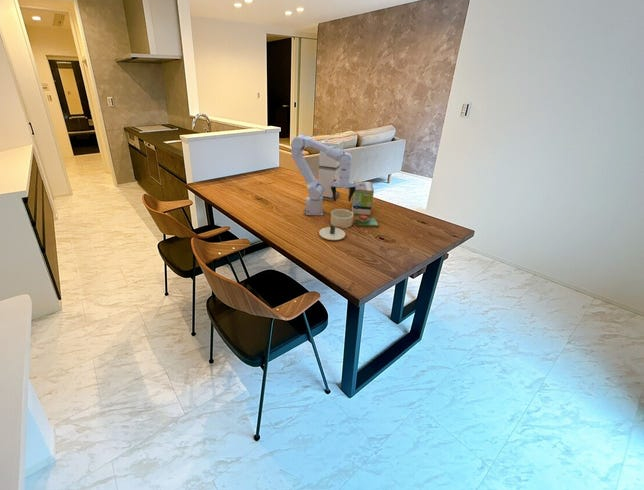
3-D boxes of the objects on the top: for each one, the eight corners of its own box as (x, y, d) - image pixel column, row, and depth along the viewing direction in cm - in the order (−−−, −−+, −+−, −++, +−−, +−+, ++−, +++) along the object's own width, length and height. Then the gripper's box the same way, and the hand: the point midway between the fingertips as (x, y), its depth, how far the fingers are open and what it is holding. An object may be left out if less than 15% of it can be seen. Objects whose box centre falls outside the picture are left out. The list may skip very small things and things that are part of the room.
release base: (357, 226, 151) (358, 221, 150) (355, 219, 158) (356, 214, 157) (378, 227, 150) (379, 222, 149) (374, 220, 158) (375, 215, 156)
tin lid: (323, 242, 137) (324, 234, 135) (315, 230, 148) (316, 222, 146) (349, 240, 139) (350, 231, 137) (339, 227, 150) (340, 220, 148)
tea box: (370, 215, 163) (374, 190, 157) (352, 214, 165) (354, 189, 159) (368, 204, 176) (371, 181, 170) (351, 203, 178) (353, 180, 172)
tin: (334, 228, 149) (335, 219, 147) (327, 219, 160) (327, 209, 157) (356, 226, 151) (357, 217, 149) (347, 217, 161) (348, 208, 159)
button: (360, 220, 152) (360, 217, 151) (359, 217, 155) (359, 214, 154) (367, 220, 152) (367, 217, 151) (365, 217, 155) (366, 215, 154)
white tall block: (333, 201, 182) (338, 143, 168) (317, 198, 187) (320, 142, 172) (338, 195, 191) (343, 140, 177) (323, 192, 196) (326, 138, 181)
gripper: (330, 178, 150) (328, 203, 156) (359, 179, 148) (356, 203, 154) (329, 174, 156) (327, 198, 162) (357, 174, 155) (354, 198, 161)
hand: (341, 200), depth 159 cm, fingers open, 7 cm apart
